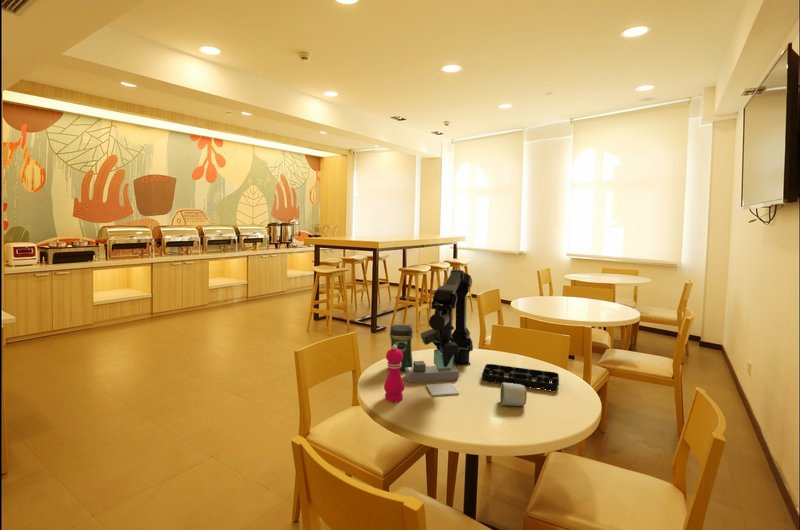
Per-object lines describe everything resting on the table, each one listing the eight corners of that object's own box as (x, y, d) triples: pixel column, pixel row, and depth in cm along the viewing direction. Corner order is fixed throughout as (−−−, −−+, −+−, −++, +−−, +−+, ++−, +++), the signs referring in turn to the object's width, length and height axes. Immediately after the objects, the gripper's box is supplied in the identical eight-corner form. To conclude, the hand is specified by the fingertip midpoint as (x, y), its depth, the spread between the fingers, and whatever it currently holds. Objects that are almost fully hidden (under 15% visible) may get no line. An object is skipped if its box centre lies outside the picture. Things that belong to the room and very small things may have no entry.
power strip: (452, 372, 188) (453, 357, 187) (458, 379, 181) (458, 364, 180) (404, 375, 184) (405, 360, 183) (408, 382, 177) (408, 366, 176)
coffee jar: (412, 364, 196) (413, 322, 193) (412, 372, 188) (413, 328, 185) (390, 364, 196) (390, 322, 193) (388, 371, 188) (389, 327, 186)
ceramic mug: (526, 409, 156) (528, 388, 155) (502, 408, 157) (503, 387, 156) (520, 396, 167) (521, 376, 166) (497, 395, 167) (498, 375, 166)
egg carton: (480, 371, 191) (480, 362, 191) (554, 375, 188) (554, 366, 187) (482, 388, 174) (483, 379, 173) (564, 393, 171) (565, 384, 170)
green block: (447, 366, 173) (448, 348, 172) (452, 372, 168) (452, 353, 166) (433, 367, 172) (434, 349, 171) (437, 373, 166) (438, 354, 165)
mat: (451, 384, 176) (451, 383, 176) (458, 394, 167) (458, 393, 167) (426, 386, 174) (426, 384, 174) (432, 396, 166) (432, 394, 165)
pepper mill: (389, 404, 159) (390, 349, 155) (380, 396, 165) (381, 343, 162) (407, 400, 162) (408, 346, 159) (398, 392, 168) (399, 340, 165)
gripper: (417, 316, 174) (416, 356, 177) (429, 331, 156) (428, 374, 159) (445, 315, 176) (443, 354, 179) (460, 330, 158) (459, 373, 161)
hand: (443, 363), depth 169 cm, fingers closed on green block, 6 cm apart
